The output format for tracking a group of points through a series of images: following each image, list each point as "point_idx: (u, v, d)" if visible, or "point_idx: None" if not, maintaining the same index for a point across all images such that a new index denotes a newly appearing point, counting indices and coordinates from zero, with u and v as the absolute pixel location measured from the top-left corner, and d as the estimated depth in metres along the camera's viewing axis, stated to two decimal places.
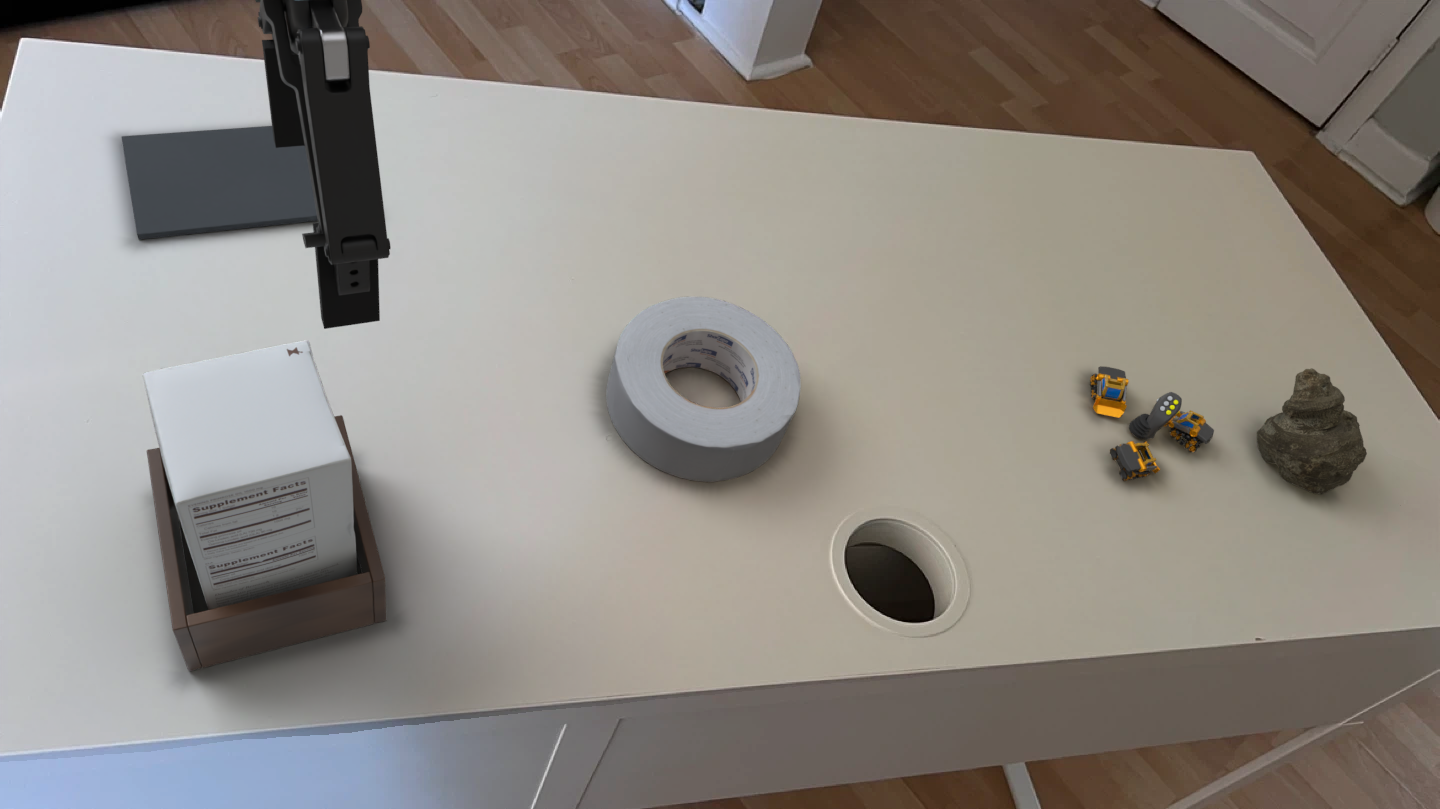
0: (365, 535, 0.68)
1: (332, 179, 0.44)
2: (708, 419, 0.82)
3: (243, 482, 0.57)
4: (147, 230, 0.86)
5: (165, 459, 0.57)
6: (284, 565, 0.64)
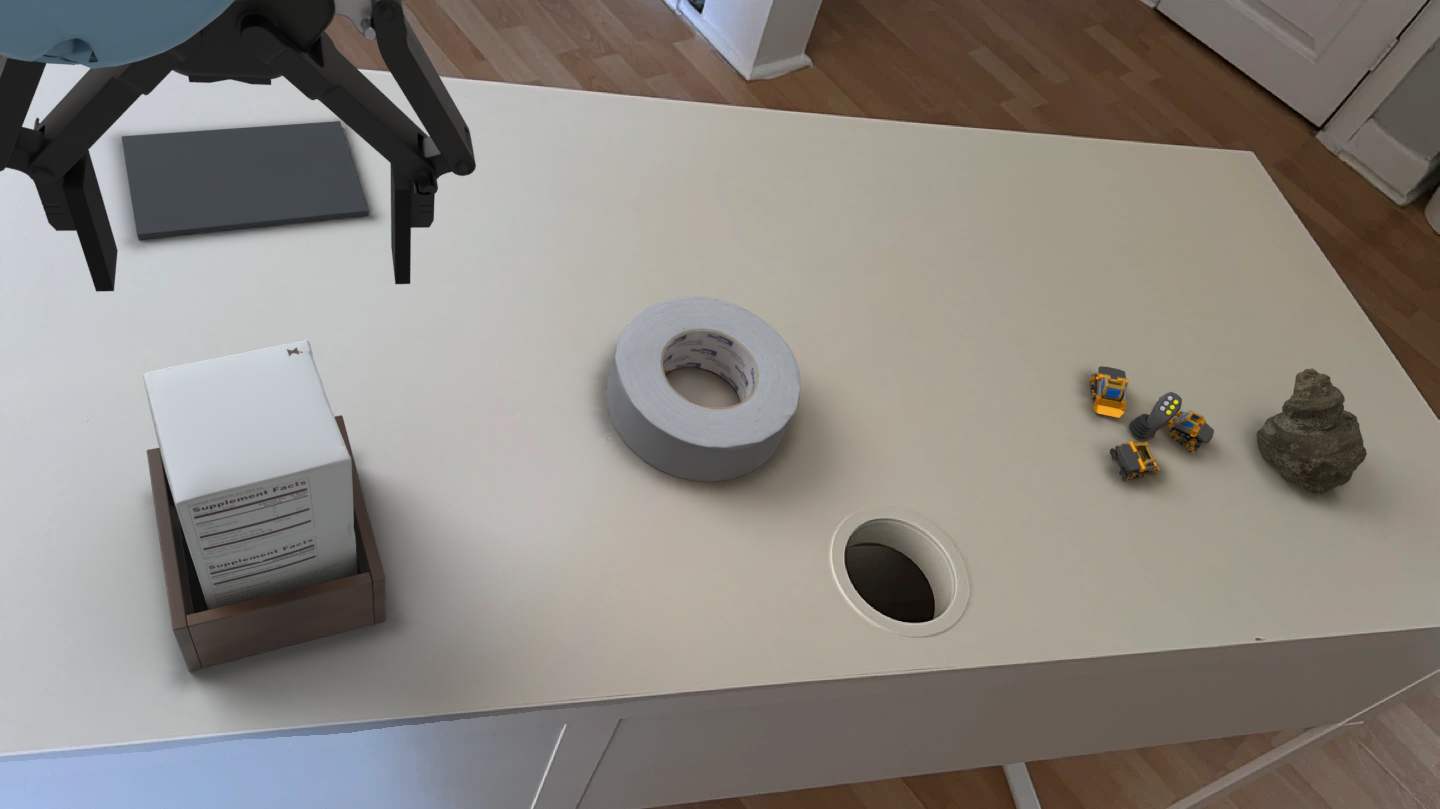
0: (365, 535, 0.68)
1: (443, 103, 0.48)
2: (708, 419, 0.82)
3: (243, 482, 0.57)
4: (147, 230, 0.86)
5: (165, 459, 0.57)
6: (284, 565, 0.64)
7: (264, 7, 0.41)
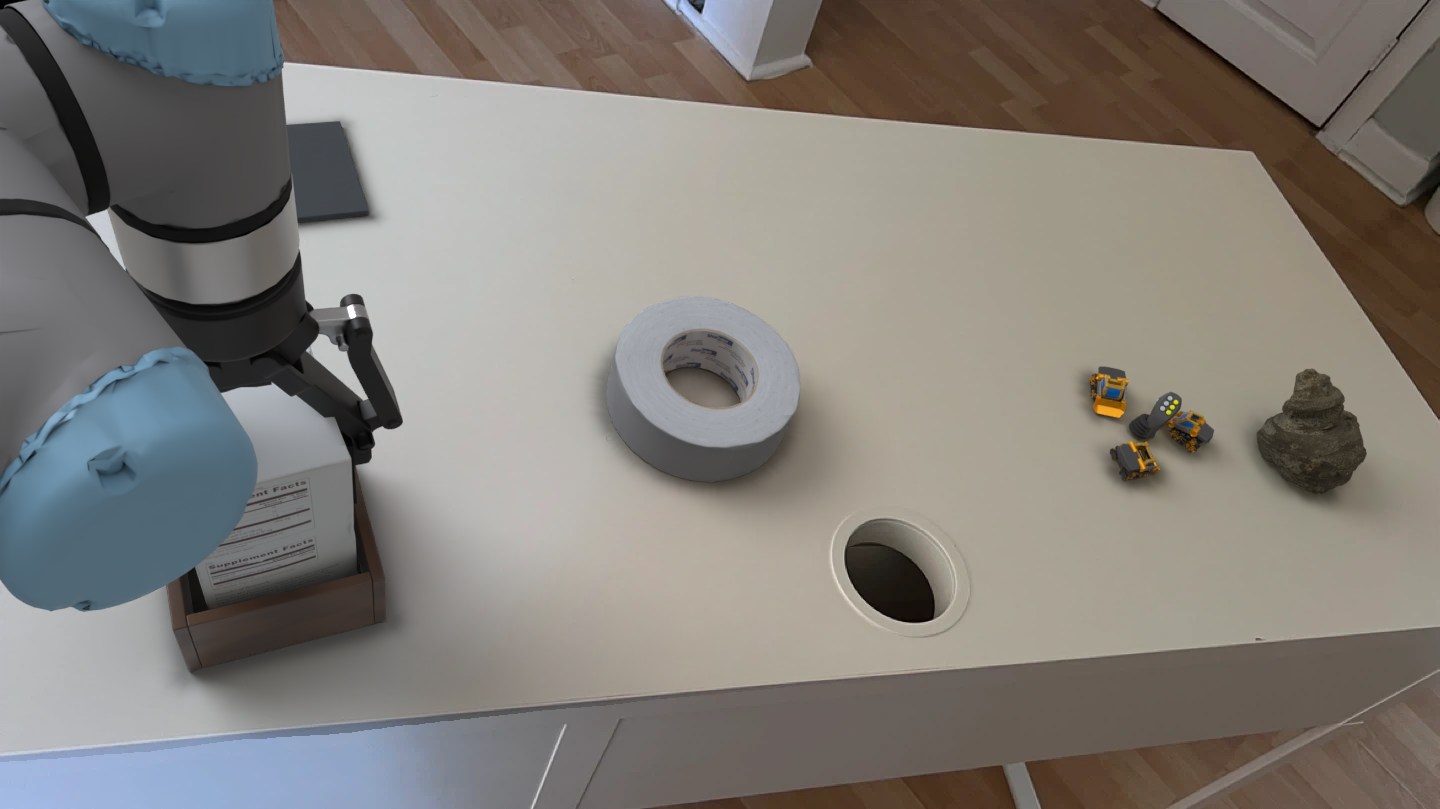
0: (365, 535, 0.68)
1: (386, 383, 0.61)
2: (708, 419, 0.82)
3: None
4: None
5: None
6: (284, 565, 0.64)
7: None
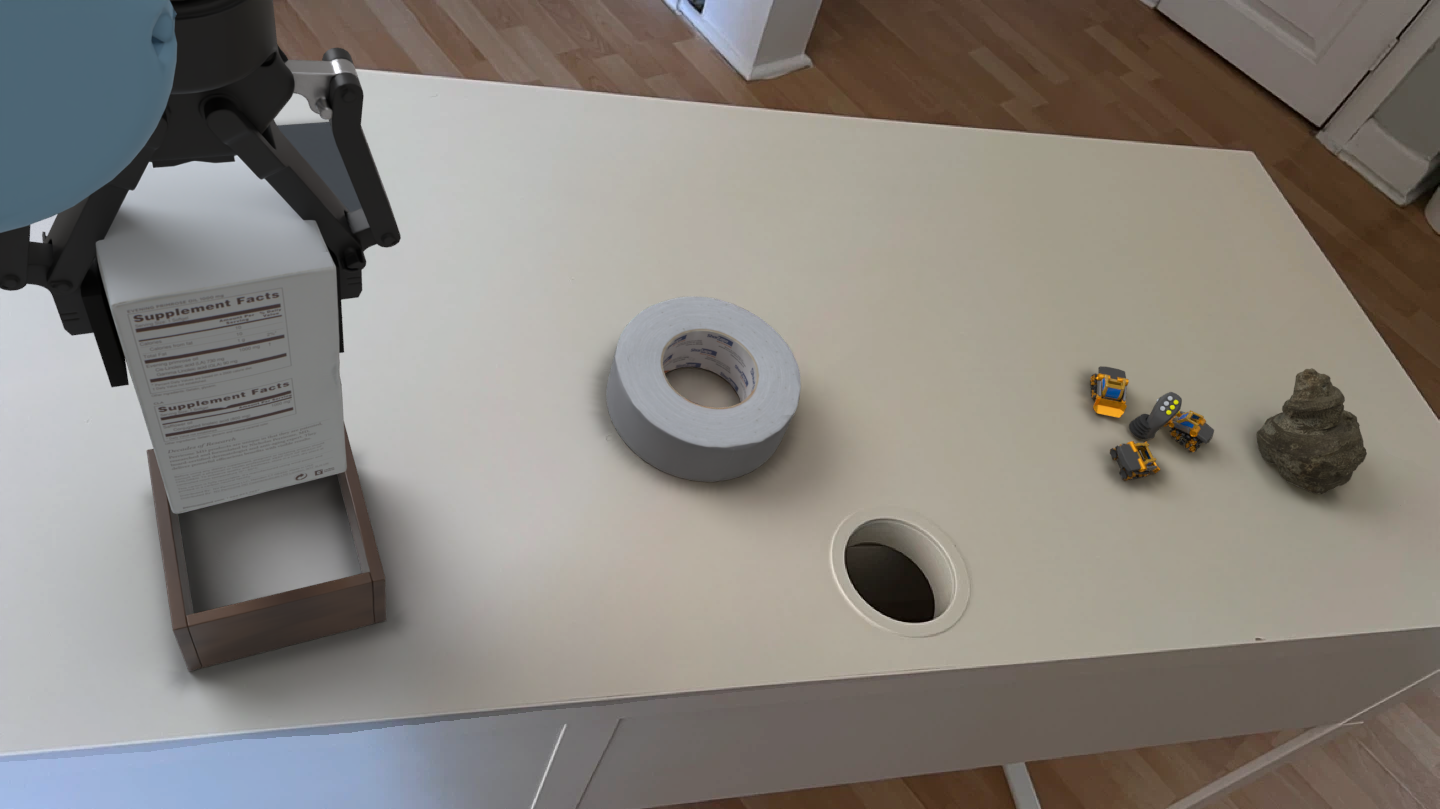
0: (365, 535, 0.68)
1: (380, 179, 0.49)
2: (708, 419, 0.82)
3: (199, 285, 0.45)
4: None
5: (99, 255, 0.45)
6: (254, 417, 0.52)
7: (226, 89, 0.42)
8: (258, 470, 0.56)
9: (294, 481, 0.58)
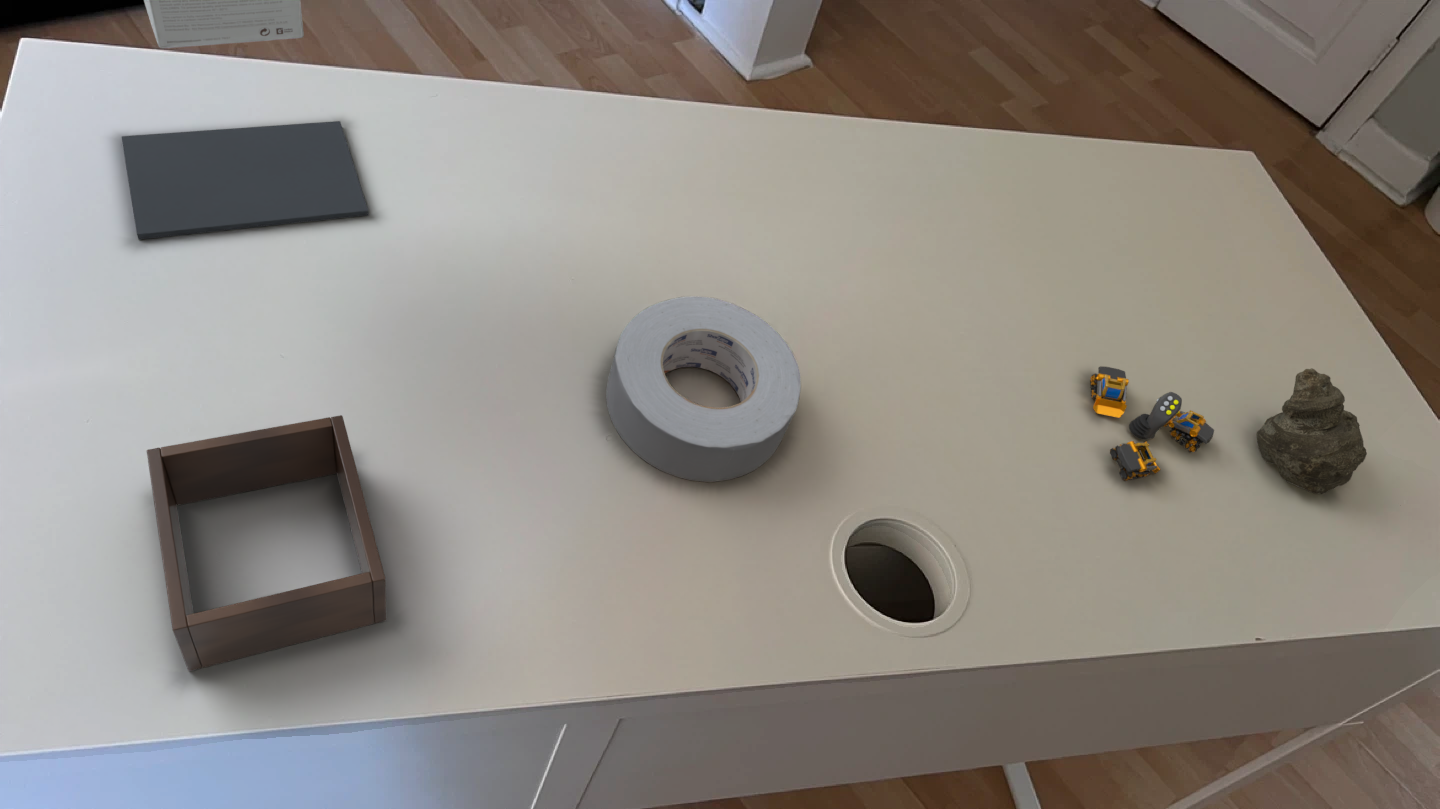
0: (365, 535, 0.68)
1: None
2: (708, 419, 0.82)
3: None
4: (147, 230, 0.86)
5: None
6: None
7: None
8: (228, 12, 0.68)
9: (259, 35, 0.71)
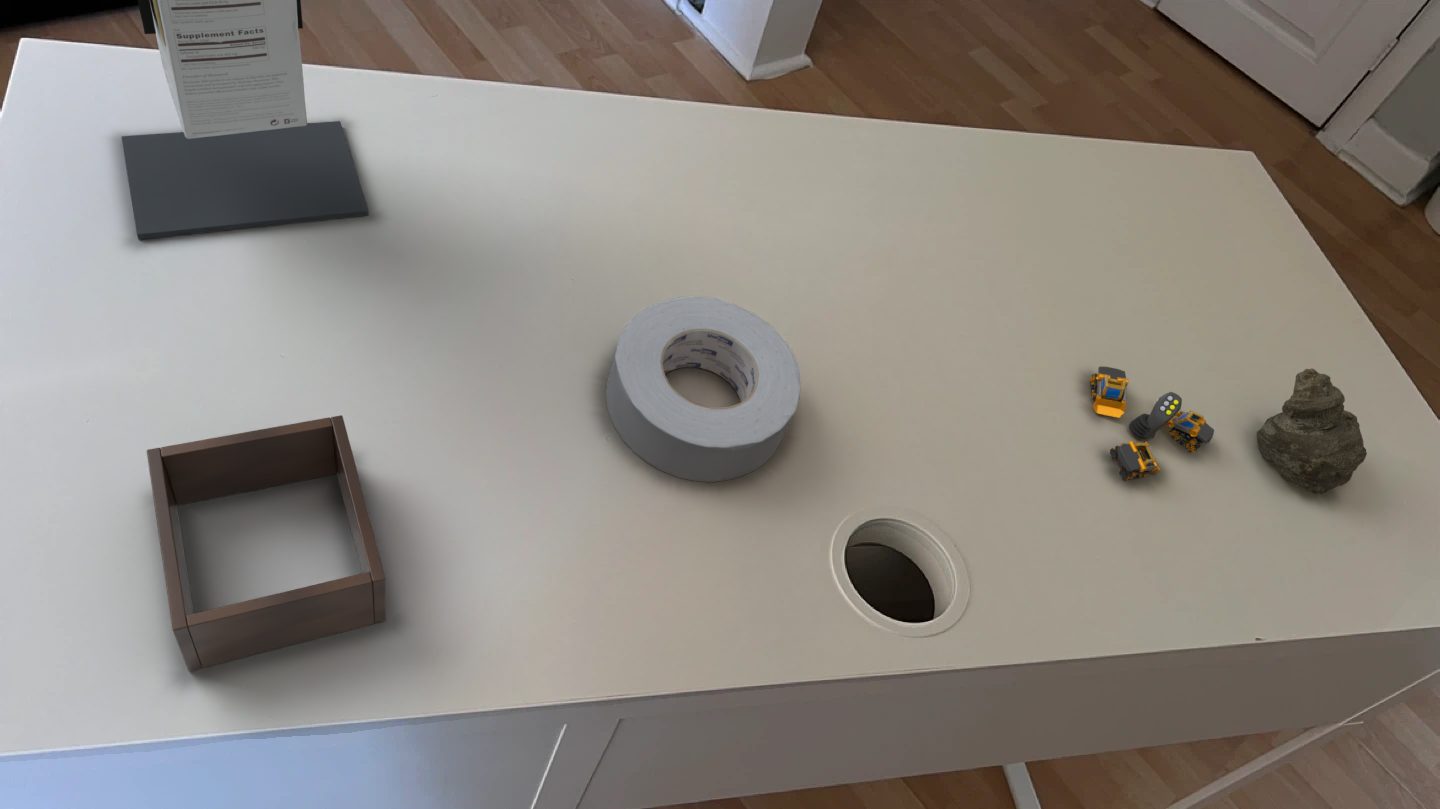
0: (365, 535, 0.68)
1: None
2: (708, 419, 0.82)
3: None
4: (147, 230, 0.86)
5: None
6: (240, 56, 0.78)
7: None
8: (244, 108, 0.81)
9: (270, 125, 0.84)
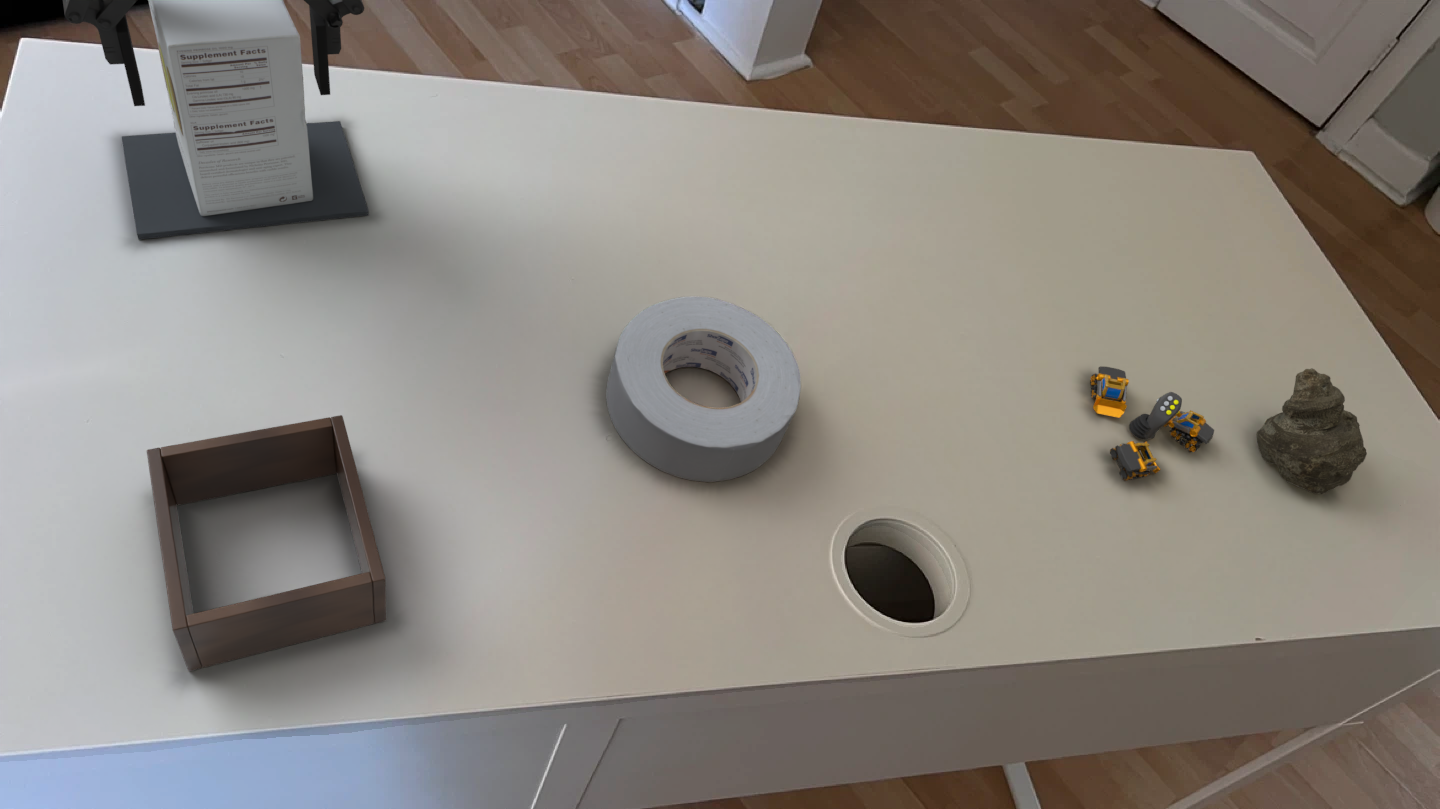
0: (365, 535, 0.68)
1: None
2: (708, 419, 0.82)
3: (218, 39, 0.76)
4: (147, 230, 0.86)
5: (160, 21, 0.76)
6: (252, 143, 0.84)
7: None
8: (255, 187, 0.88)
9: (278, 202, 0.90)
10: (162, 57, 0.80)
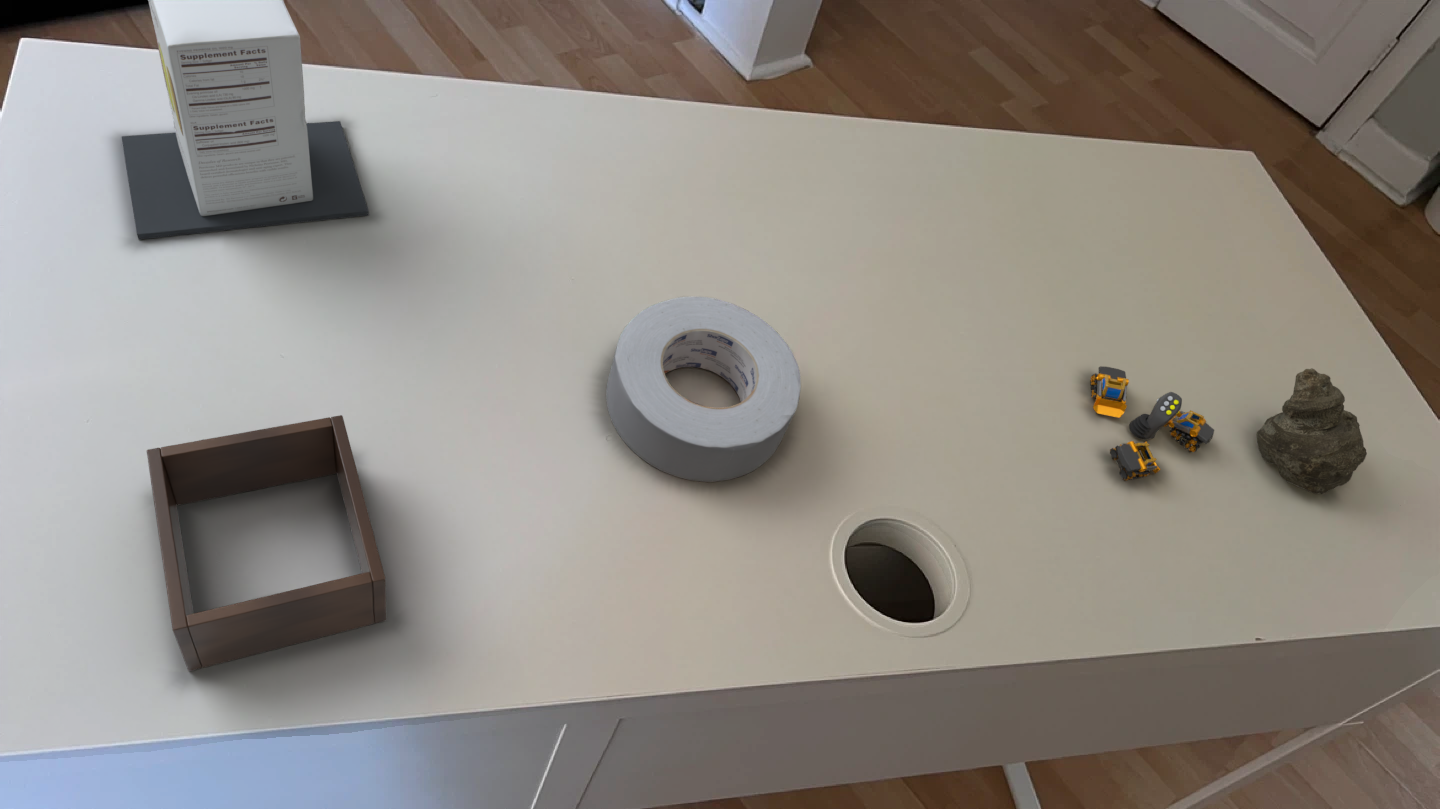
0: (365, 535, 0.68)
1: None
2: (708, 419, 0.82)
3: (218, 39, 0.76)
4: (147, 230, 0.86)
5: (160, 21, 0.76)
6: (252, 143, 0.84)
7: None
8: (255, 187, 0.88)
9: (278, 202, 0.90)
10: (162, 57, 0.80)
